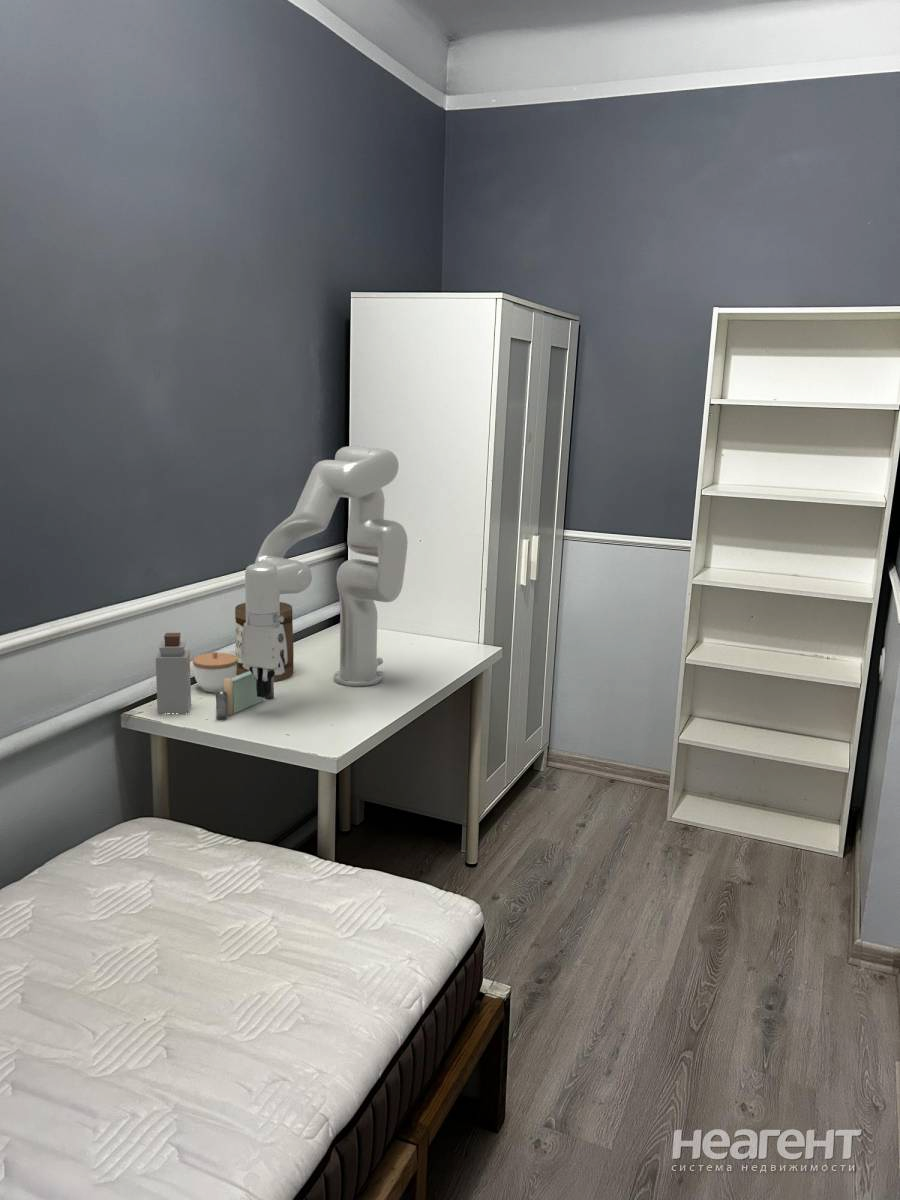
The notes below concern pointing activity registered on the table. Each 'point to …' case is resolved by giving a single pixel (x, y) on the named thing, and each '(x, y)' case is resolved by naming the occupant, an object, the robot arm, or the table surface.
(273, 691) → the hinge post
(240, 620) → the wooden container
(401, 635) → the table surface
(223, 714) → the post
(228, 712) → the gate
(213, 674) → the lidded jar
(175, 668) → the perfume bottle
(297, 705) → the table surface
